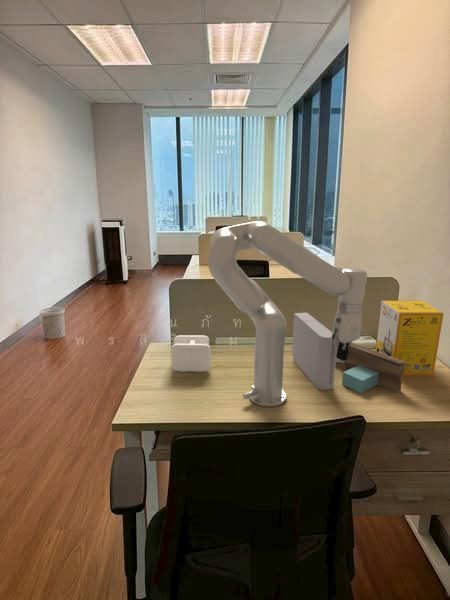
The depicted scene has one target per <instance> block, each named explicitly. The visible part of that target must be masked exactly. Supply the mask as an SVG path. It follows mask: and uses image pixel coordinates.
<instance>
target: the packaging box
mask: <svg viewBox="0 0 450 600" xmlns="http://www.w3.org/2000/svg"><path fill="white" fill-rule="evenodd" d="M379 312H380V314H379V322H378V329H377V339H376V347H375V351H377V352H379V353H382V354H385V355H388V356H391V357H393V358H396V359H399V360H402V361H405V364H404V369H403V376H434V374H435V373H434V372H435V366H436V360H437V355H438V349H439V343H440V337H441V331H442V324H443V319H444V312H442V311H441V310H439V309H437V308H436V307H435V306H432V305H430V304H429V303H427V302H426V301H424V300H381V304H380V311H379Z"/></svg>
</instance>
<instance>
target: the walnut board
mask: <svg viewBox="0 0 450 600" xmlns="http://www.w3.org/2000/svg"><path fill="white" fill-rule="evenodd" d="M404 364H405V361H402V360H399V359H396V358H393V357H391V356H388V355H385V354H382V353H379V352H377V351H376V350H374V349H370V348H368V347H365V346H362V345H360V344H356V343H354V342H352V343H351V345H350V348H349V350H348V357H347V360H345V362H344V364H343V371H344V372H345V371H347V370H349V369H351V368H354V367H356V366H358V365H361V366H363V367H366V368H368V369H371V370H373V371H376V372H378V373H379V376H378V384H377V386H381V388H382V387H383V388H385V389H387V390H389V391H392V392H394V393H396V394H398V393H400V392H401V389H402V382H403V377H404V375H403V369H404Z"/></svg>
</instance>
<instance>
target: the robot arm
mask: <svg viewBox="0 0 450 600" xmlns="http://www.w3.org/2000/svg"><path fill="white" fill-rule="evenodd" d="M209 242H210V243H209V244H210V248H209V252H208V257H207V263H208V264H207V265H208V269H209V272H210V276H211V277H212V279H213V280H214V281H215V282H216V283H217V284H218V286H219V287H220V288H221V289H222V290H223V292H224V293H225V294H226V295H227V296H228V297H229V299H230V301H232V302H233V303H234V304H235V306H236V307H237V308H238V310H240V311H241V312H243V313H245V314H246V315H247V316H248V317H249V318H250V319H251V321H252V322H253V324H254V326H255V327H254V328H255V338H254V339H255V341H254V363H253V364H254V366H253V367H254V368H253V385H251V389H250V390H249V391H248V392H245V393H243V394H242V398H243V399H244V400H247V399H250V401H251V402H253V404H255V405H259V406H262V407H269V408H270V407H277V406H281V405H282V404H284V403H285V402H286V401H287V394H286V393H287V392H286V391H285V390H283V379H284V378H283V376H284V374H283V373H284V357H285V356H284V350H285V341H286V335H287V321H286V317H285V316H284V313H282V312H281V310H280V308H278V306H277V305H276V303H274V301H273V300H272V299H271V298H270V297H269V296H268V294H267V293H266V292H265V291H264V289H262V288H261V286H260V285H259V284H258V283H257V282H256V281H255V280H254V279H252V278H250V277H249V276H248V275H247V274H246V272H245V271H244V270H243V269H242V268H241V267H240V266H239V263H237V256H238V253H239V252H242V251H246V250H250V249H254V250H255V251H256V252H259V253H260V254H263V255H264V256H265V257H267V258H269V259H270V260H272V261H273V262H275V263H277V264H279V265H280V266H281V267H283V268H285V269H287V270H288V271H290V272H291V273H293V274H295V275H297V276H299V277H300V278H303V279H304V280H306V281H308V282H309V283H311V284H312V285H314V286H316V287H318V288H319V289H321V290H323V292H326V293H328V294H329V295H331V296H334V297H337V296H338V300H337V301H338V302H337V309H336V313H335V316H334V321H333V324H332V329H331V332H332V339H334V341H333V345H336V346H337V347H338V349H337V355H336V358H338V359H340V360H342V361H345V360H347V357H348V350H349V348H350V345H351V343H353V342H354V341H357V340H359V339H360V338H361V334H362V324H363V323H362V322H363V311H362V309H363V303H364V298H365V297H364V296H365V291H366V286H367V280H368V273H367V271H365V270H364V269H360V268H355V267H354V268H353V267H348V268H342V267H336V266H334V265H332V264H330V263H328V262H327V261H325V260H324V259H322V258H321V257H320V256H317V255H316V254H315V253H314V252H312V251H311V250H310V249H309V248H308V247H306V246H304V245H303V244H301V243H300V242H298V241H297V240H295V239H293V238H292V237H290V236H289V235H287V234H285V233H283V232H282V231H281V230H279V229H278V228H276V227H274V226H272V225H271V224H269V223H267V222H265V221H261V220H255V221H250V222H246V223H241V224H235V225H230V226H225V227H222V228H218V229H217V230H215V231H213V233H212V235H211V237H210V241H209Z"/></svg>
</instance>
